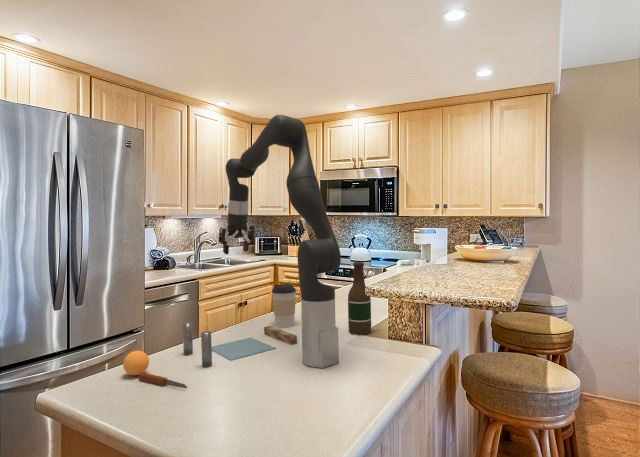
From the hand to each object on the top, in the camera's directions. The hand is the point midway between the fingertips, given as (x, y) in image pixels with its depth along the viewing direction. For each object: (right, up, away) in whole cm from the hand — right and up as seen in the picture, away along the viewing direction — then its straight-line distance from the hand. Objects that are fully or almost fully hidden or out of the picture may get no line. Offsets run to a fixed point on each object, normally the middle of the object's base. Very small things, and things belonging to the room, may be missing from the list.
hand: (236, 252), depth 153 cm
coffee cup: (+20, -27, -7) cm, 34 cm away
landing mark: (+9, -27, -33) cm, 44 cm away
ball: (-14, -25, -53) cm, 60 cm away
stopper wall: (+20, -27, -25) cm, 41 cm away
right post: (+2, -27, -47) cm, 55 cm away
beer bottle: (+46, -26, -19) cm, 57 cm away
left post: (-6, -27, -37) cm, 47 cm away
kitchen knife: (-5, -28, -59) cm, 66 cm away
